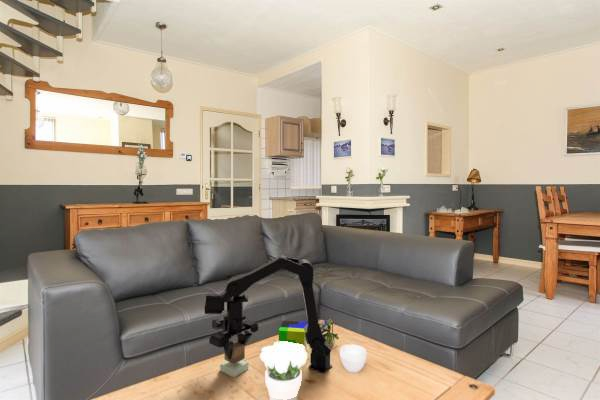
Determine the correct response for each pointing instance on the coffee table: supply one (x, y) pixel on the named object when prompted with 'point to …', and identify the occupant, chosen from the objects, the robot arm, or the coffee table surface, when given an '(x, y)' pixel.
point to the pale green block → (234, 367)
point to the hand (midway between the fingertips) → (234, 356)
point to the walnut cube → (236, 353)
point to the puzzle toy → (293, 332)
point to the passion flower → (328, 331)
